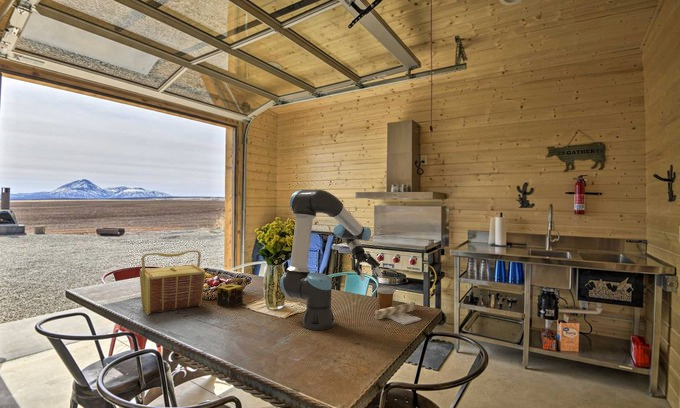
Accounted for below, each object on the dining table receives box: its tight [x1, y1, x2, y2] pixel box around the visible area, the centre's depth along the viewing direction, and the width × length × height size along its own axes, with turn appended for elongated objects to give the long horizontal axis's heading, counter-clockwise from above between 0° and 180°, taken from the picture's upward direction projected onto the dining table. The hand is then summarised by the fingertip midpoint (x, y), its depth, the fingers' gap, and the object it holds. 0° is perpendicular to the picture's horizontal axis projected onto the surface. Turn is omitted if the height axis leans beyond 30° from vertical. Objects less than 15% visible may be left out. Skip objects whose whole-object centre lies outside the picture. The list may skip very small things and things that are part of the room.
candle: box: [216, 283, 244, 308], centre depth 183 cm, size 10×10×10 cm
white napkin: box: [386, 312, 422, 326], centre depth 163 cm, size 12×12×1 cm
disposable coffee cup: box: [376, 285, 395, 310], centre depth 177 cm, size 10×10×12 cm
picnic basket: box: [139, 249, 206, 315], centre depth 175 cm, size 29×26×30 cm
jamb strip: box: [374, 301, 416, 320], centre depth 170 cm, size 28×2×4 cm, turn 126°
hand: (372, 278), depth 186 cm, fingers open, 13 cm apart
